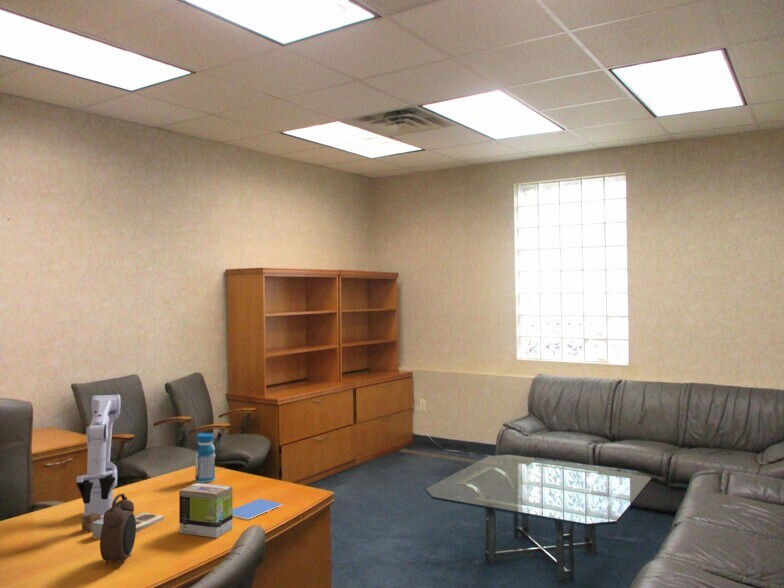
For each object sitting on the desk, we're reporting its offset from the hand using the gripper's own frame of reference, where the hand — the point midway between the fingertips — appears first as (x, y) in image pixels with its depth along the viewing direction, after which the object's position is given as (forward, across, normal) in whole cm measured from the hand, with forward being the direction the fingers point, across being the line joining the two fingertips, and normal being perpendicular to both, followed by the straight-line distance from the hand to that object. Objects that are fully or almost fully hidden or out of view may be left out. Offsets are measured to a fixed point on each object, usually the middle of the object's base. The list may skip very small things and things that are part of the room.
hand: (95, 501), depth 213 cm
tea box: (+12, +15, -34) cm, 39 cm away
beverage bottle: (+2, +62, +3) cm, 62 cm away
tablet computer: (+10, +39, -38) cm, 55 cm away
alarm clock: (+15, -15, -26) cm, 33 cm away
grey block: (+11, -2, -5) cm, 12 cm away
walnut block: (+10, +1, +3) cm, 10 cm away
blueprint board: (+10, +11, -8) cm, 17 cm away
